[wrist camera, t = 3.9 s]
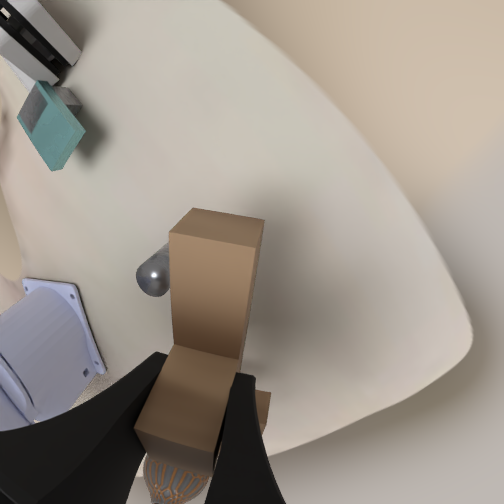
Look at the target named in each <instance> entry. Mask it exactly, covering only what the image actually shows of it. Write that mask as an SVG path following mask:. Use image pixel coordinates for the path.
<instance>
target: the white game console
mask: <svg viewBox="0 0 504 504" xmlns="http://www.w3.org/2000/svg"><path fill="white" fill-rule="evenodd" d="M3 7H4V8H5V9H6V10H7V11H8V12H9V13H10V14H11V15H12V16H11V17H10V19H9V20H8V21H7V19H8V18H7V17H6V16H5V15H4V14H3V13H2V12H1V11H0V55H1V56H2V57H3V58H4V60H5V61H6V63H7V64H8V65H9V67H10V68H11V69H12V71H13V72H14V73H15V75H16V76H17V77H18V79H19V80H20V81H21V83H22V84H23V85H24V86H25V88H26V89H27V90H28V92H29V93H30V91H31V90H32V88H33V86H34V84H35V83H36V81H37V80H42V81H48V83H49V84H50V85H51V86H53V85H54V84H55V83H56V82H57V81H58V80H59V79H58V78H57V77H56V76H57V75H58V74H59V73H60V71H59V70H58V69H57V68H56V67H55V66H54V65H53V64H52V63H51V62H50V61H51V60H53V59H54V58H56V59H57V60H58V61H59V62H60V63H61V64H62V65H63V66H64V67H65V66H66V65H67V64H71V65H72V66H73V65H74V64H75V62H76V61H77V60H78V59H79V57H80V55H81V53H82V52H81V50H80V49H79V48H78V47H77V46H76V45H75V43H74V42H73V41H72V40H71V39H70V38H69V36H68V35H67V34H66V33H65V32H64V31H63V29H62V28H61V27H60V26H59V25H58V24H57V22H56V21H55V20H54V19H53V18H52V17H51V16H50V14H49V13H48V12H47V11H46V10H45V9H44V7H43V6H42V5H41V4H40V3H39V2H38V1H37V0H0V10H1V9H2V8H3ZM23 28H24V29H23ZM22 29H23V30H22ZM21 30H22V31H21ZM20 31H21V32H20Z"/></svg>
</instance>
